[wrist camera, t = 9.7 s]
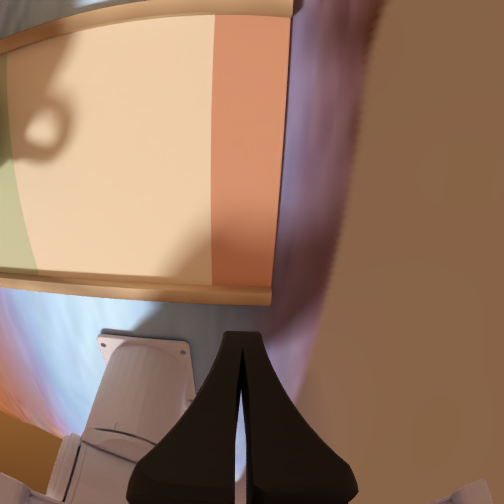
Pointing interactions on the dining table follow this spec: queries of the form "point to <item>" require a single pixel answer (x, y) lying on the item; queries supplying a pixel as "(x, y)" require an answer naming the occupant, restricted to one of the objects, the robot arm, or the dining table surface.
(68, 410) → the dining table surface
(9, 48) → the beige flat rectangular board
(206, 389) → the robot arm
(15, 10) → the dining table surface
